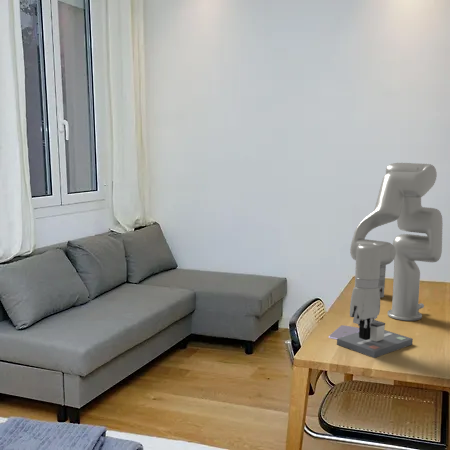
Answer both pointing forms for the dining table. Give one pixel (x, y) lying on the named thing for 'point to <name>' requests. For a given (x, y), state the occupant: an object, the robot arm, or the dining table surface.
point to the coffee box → (382, 280)
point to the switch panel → (375, 343)
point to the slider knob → (377, 331)
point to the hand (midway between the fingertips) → (364, 338)
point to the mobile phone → (343, 331)
